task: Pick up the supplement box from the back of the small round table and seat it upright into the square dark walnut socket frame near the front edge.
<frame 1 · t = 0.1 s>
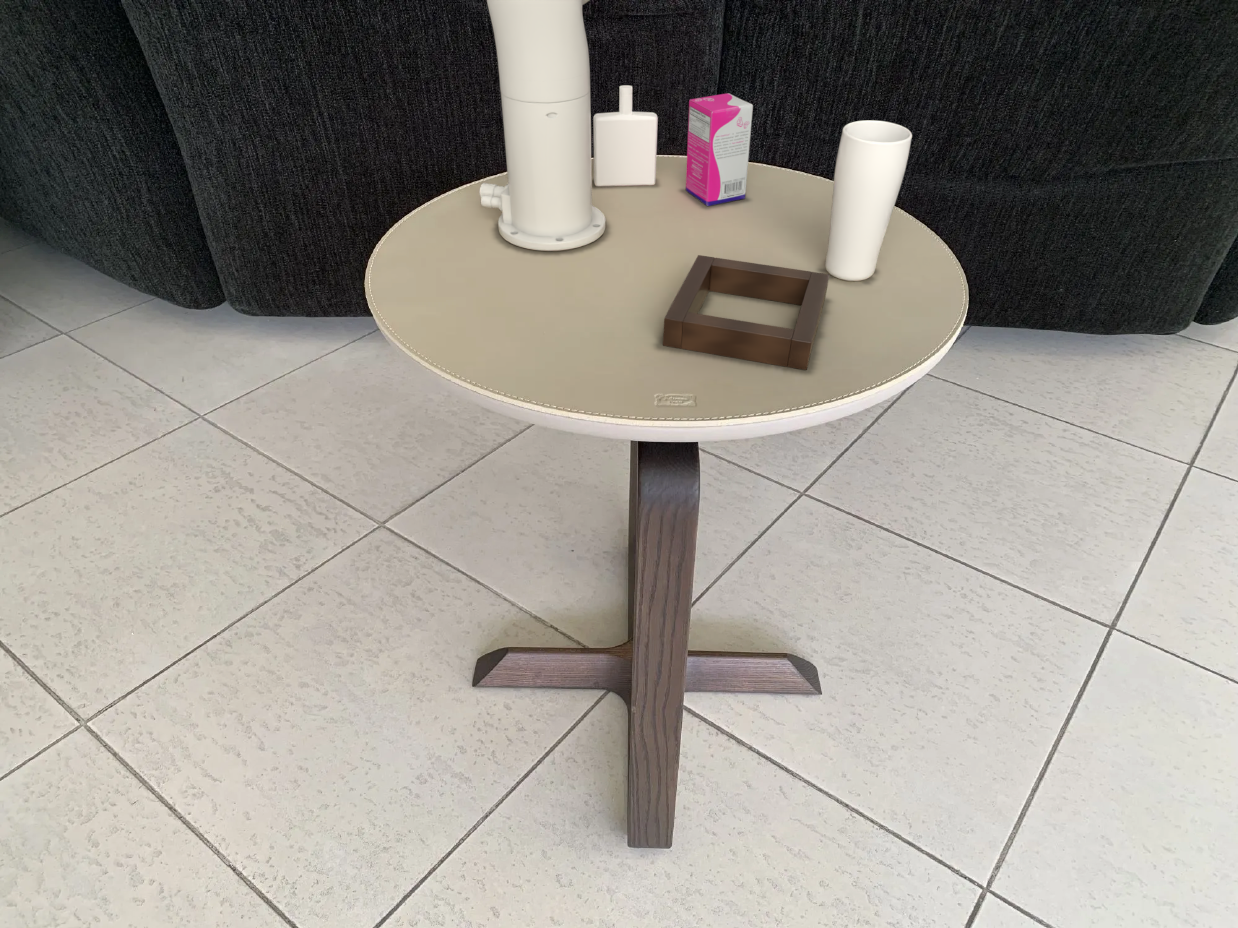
socket: (747, 322, 82), on the table
supplement box: (714, 196, 107), on the table
perfume bottle: (624, 184, 109), on the table
drinking glass: (848, 273, 91), on the table
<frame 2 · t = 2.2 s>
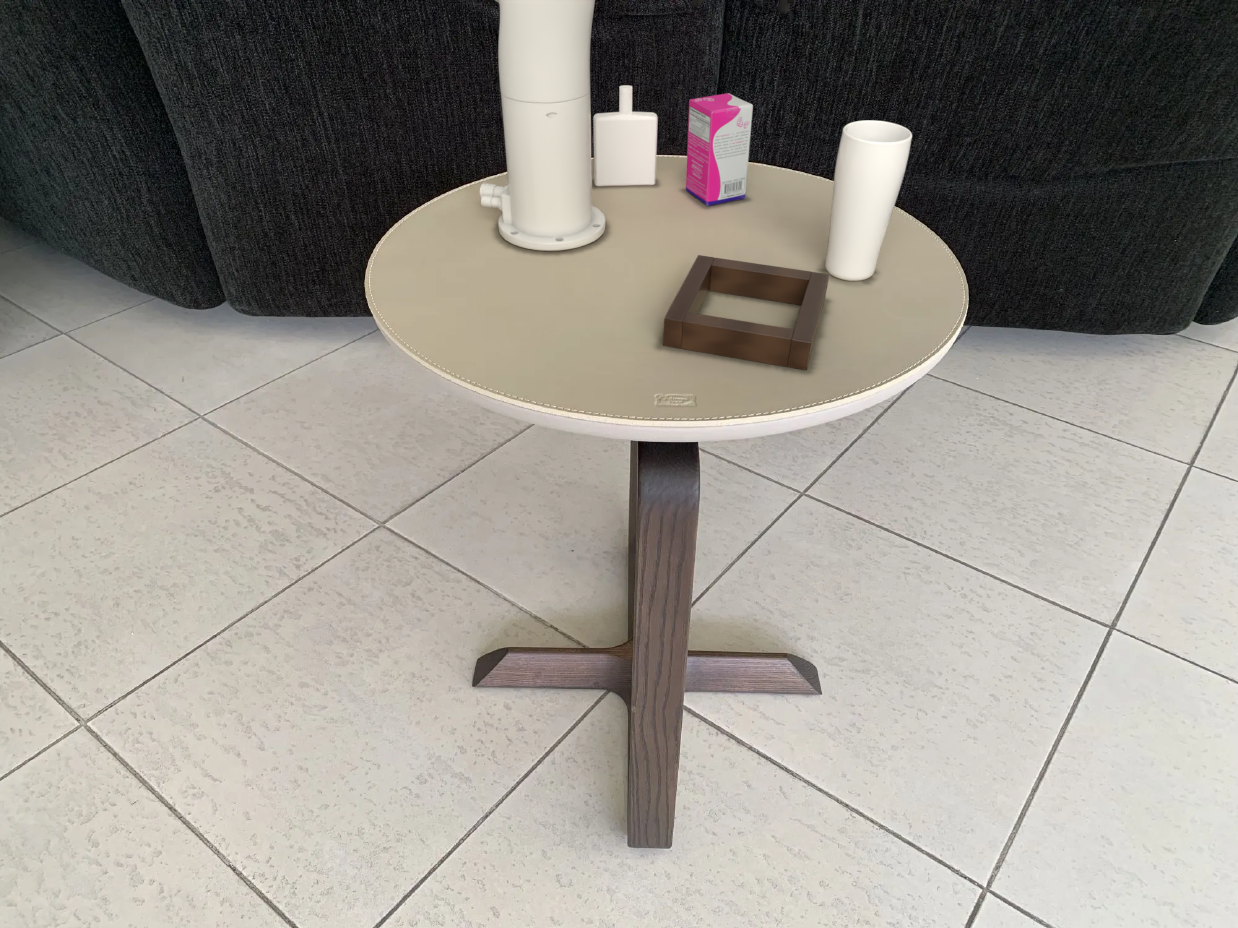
hand: (740, 7, 92), 22 cm above the table, tool pointing down, fingers open, 9 cm apart
nothing on the table moved.
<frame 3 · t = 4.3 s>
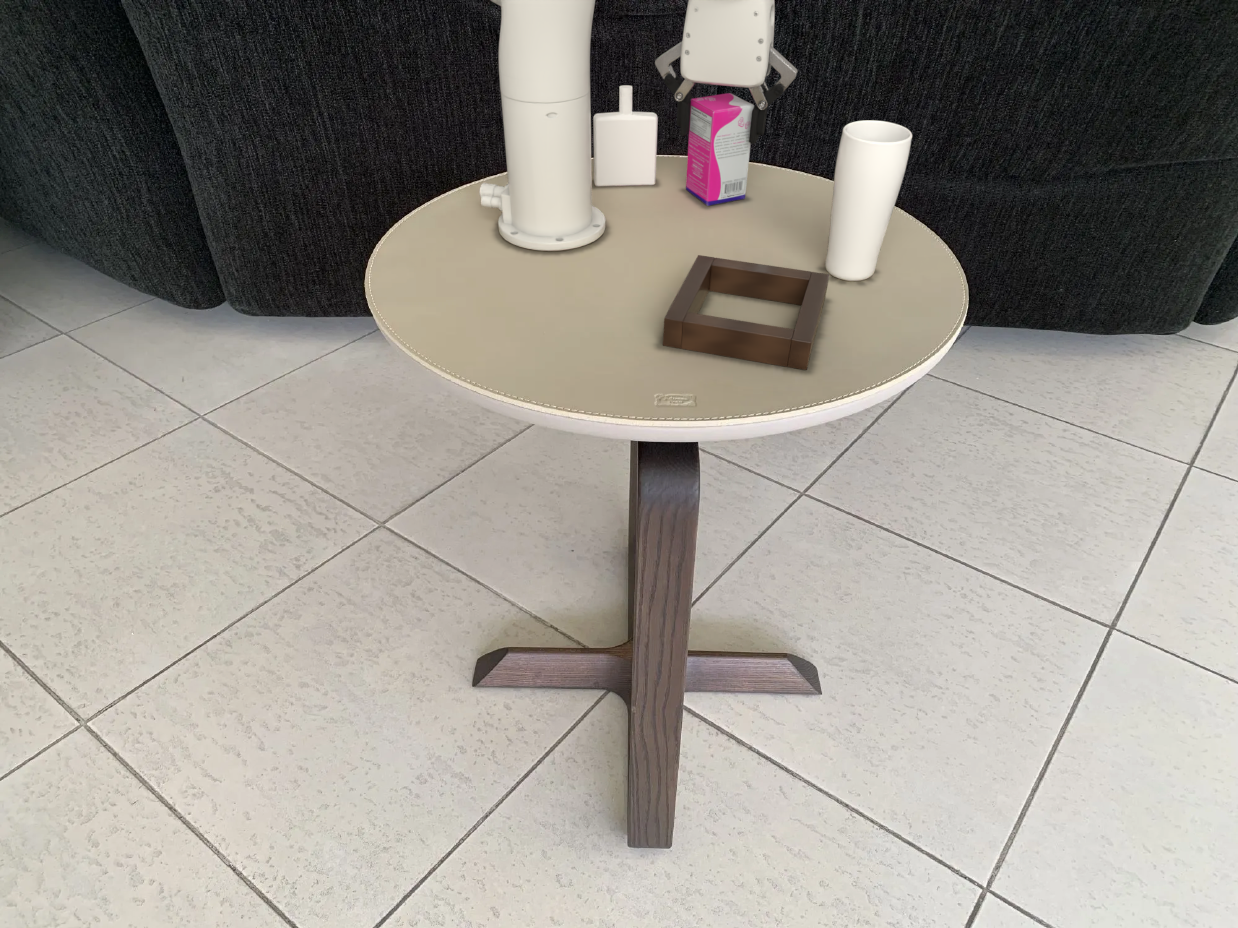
hand: (719, 135, 102), 7 cm above the table, tool pointing down, fingers closed on supplement box, 8 cm apart
supplement box: (714, 196, 107), on the table, touching gripper
everything else where it was.
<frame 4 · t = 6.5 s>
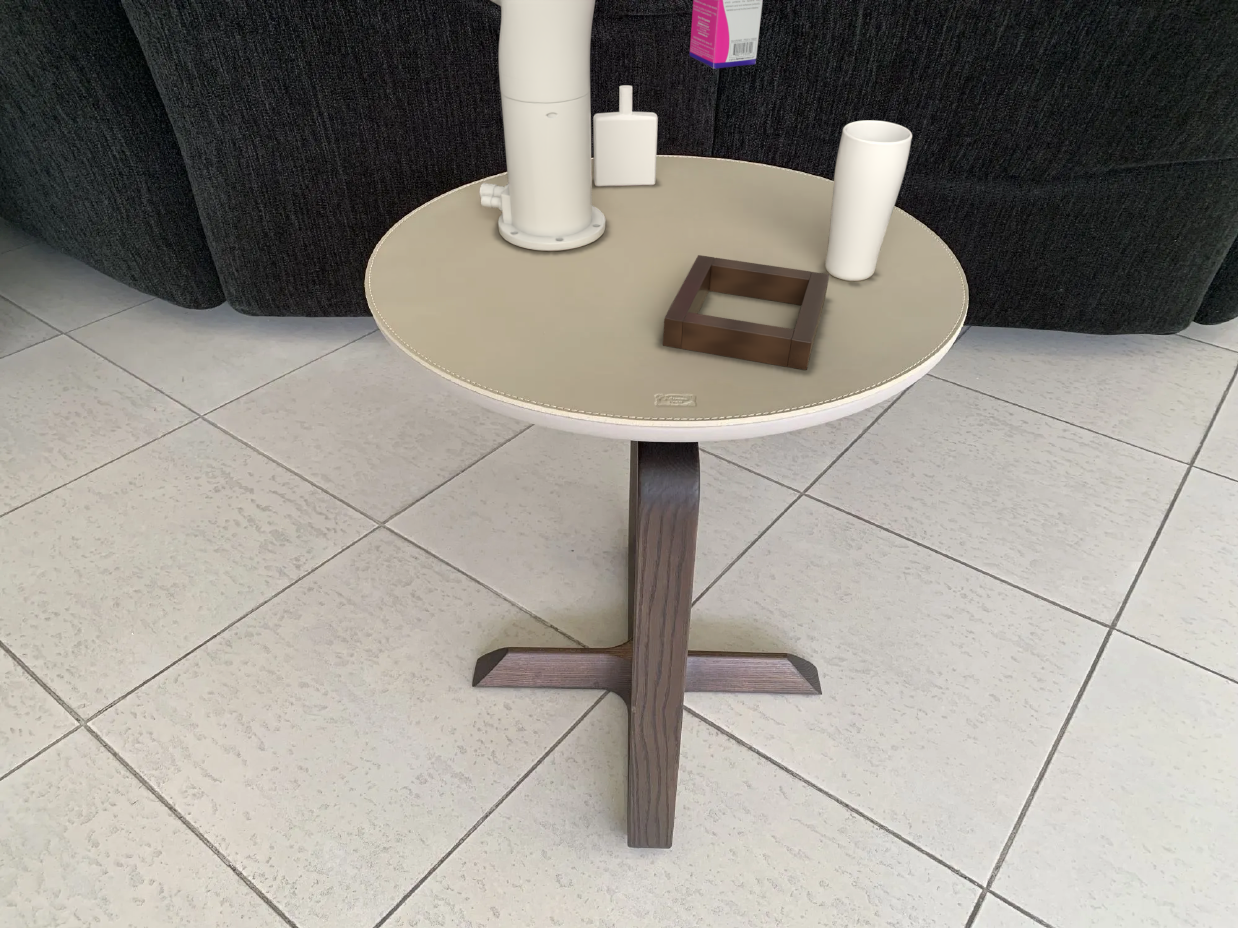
supplement box: (721, 62, 96), point 16 cm above the table, touching gripper
everything else where it was.
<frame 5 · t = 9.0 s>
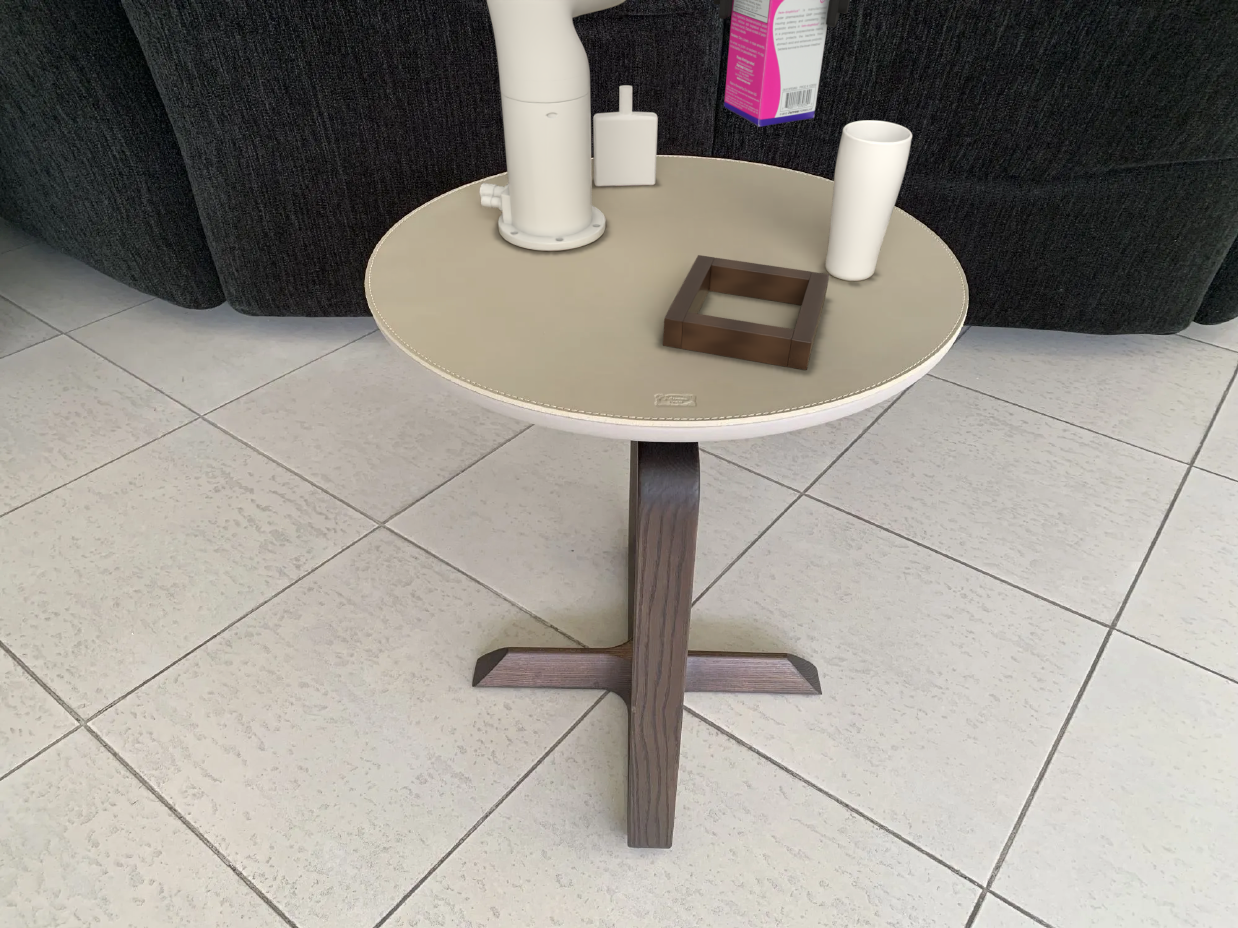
hand: (778, 18, 67), 27 cm above the table, tool pointing down, fingers closed on supplement box, 8 cm apart
supplement box: (766, 115, 72), point 19 cm above the table, touching gripper
everything else where it was.
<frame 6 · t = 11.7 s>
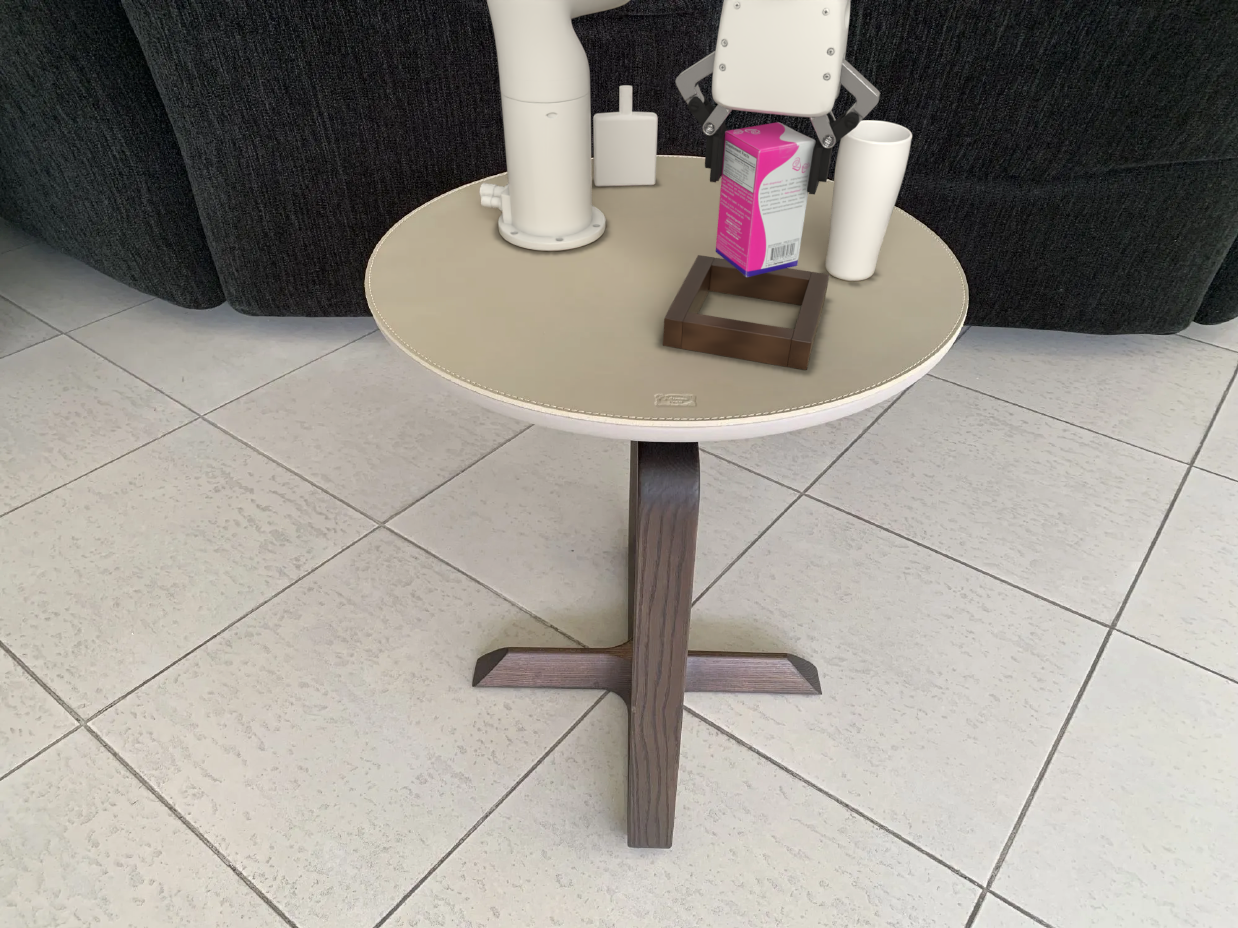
hand: (764, 181, 73), 14 cm above the table, tool pointing down, fingers closed on supplement box, 8 cm apart
supplement box: (754, 261, 78), point 7 cm above the table, touching gripper
everything else where it was.
when the fingers open (7 cm above the table, at t = 14.0 s): supplement box stays where it is, resting in socket.
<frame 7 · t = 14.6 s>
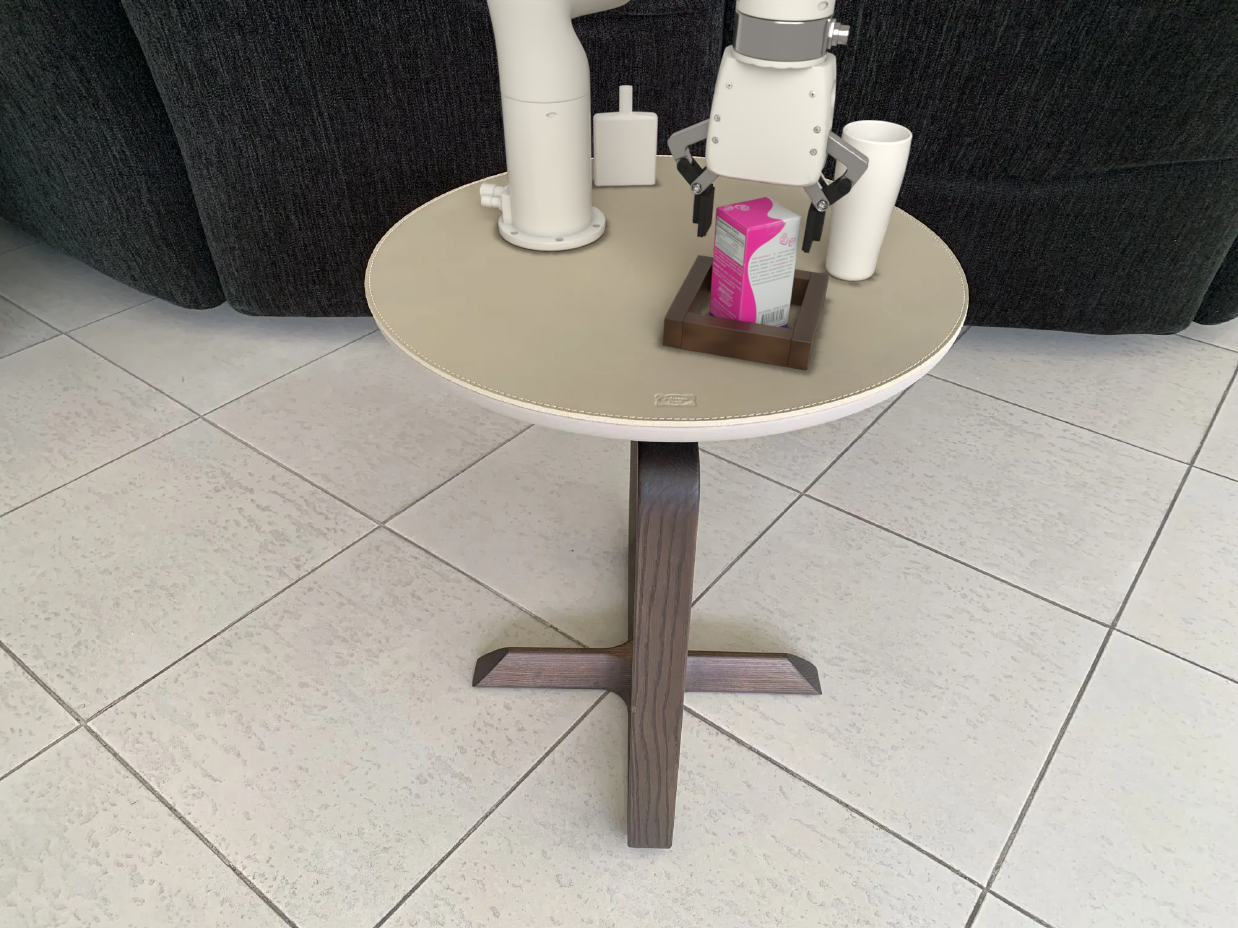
hand: (755, 239, 77), 9 cm above the table, tool pointing down, fingers open, 9 cm apart
supplement box: (746, 324, 82), resting in socket
everything else where it was.
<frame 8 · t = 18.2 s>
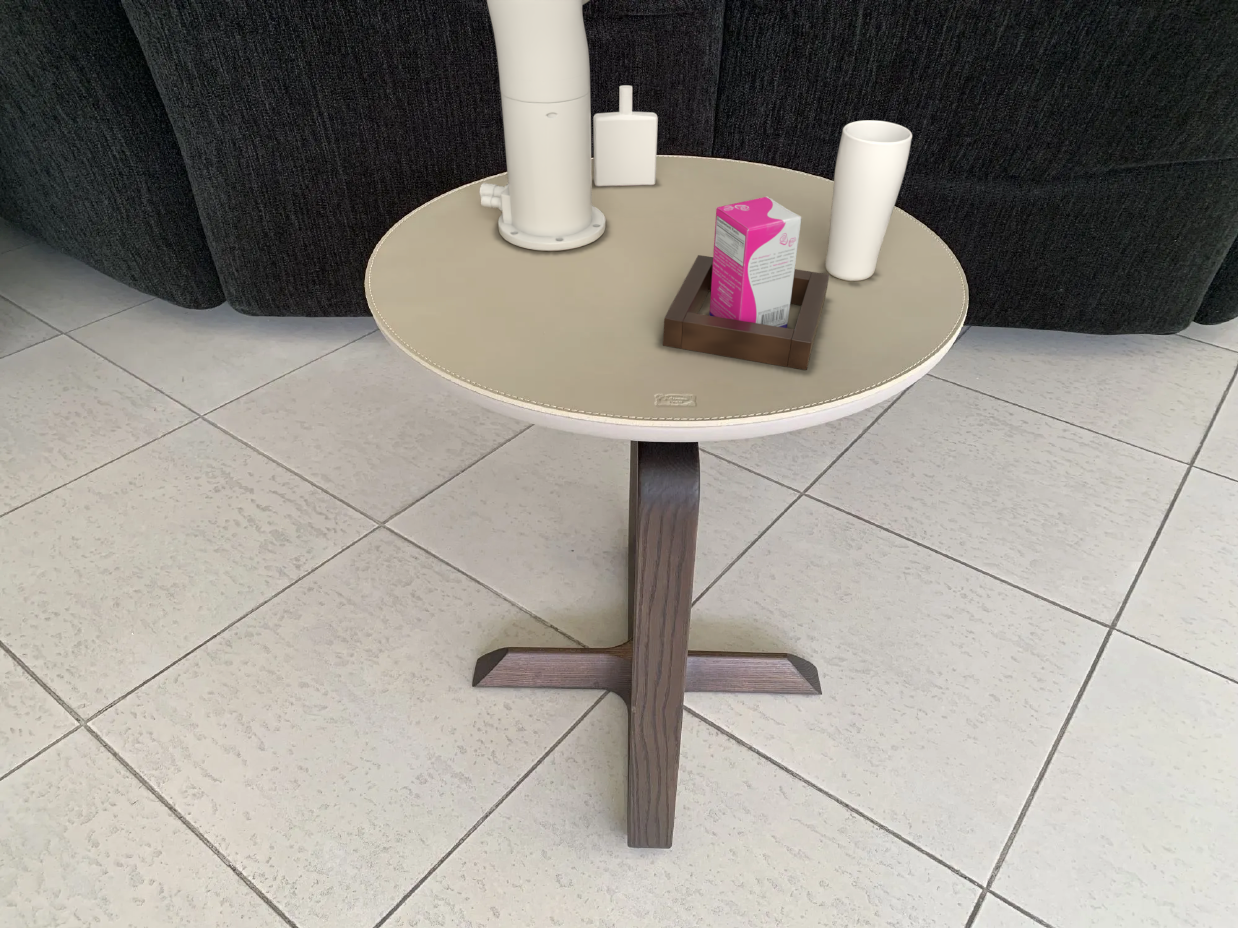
nothing on the table moved.
at the end: supplement box 0.0 cm off-centre in the socket, point 0.0 cm above the socket's base; supplement box tilted 0°; the gripper is holding nothing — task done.
